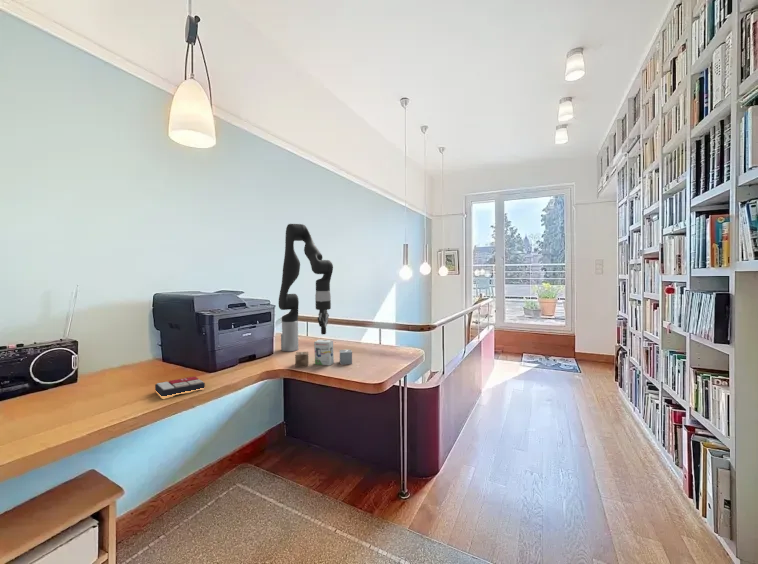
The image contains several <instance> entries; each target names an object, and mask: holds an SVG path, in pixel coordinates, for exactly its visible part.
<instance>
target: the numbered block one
mask: <svg viewBox="0 0 758 564" xmlns="http://www.w3.org/2000/svg"><path fill="white" fill-rule="evenodd" d="M295 352H296V351H295ZM294 358H295V361H294V362H295V368H303V367H304V368H305V367H309V363H310V362H309V351H297V352H296V353H295V357H294Z"/></svg>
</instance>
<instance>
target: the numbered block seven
mask: <svg viewBox="0 0 758 564" xmlns="http://www.w3.org/2000/svg"><path fill="white" fill-rule="evenodd" d="M339 363H340V364H341V365H353V351H352V349H339ZM340 364H339V365H340Z"/></svg>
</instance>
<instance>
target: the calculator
mask: <svg viewBox="0 0 758 564" xmlns="http://www.w3.org/2000/svg"><path fill="white" fill-rule="evenodd" d="M154 386H155V387H154V388H155V389H154V391H155V390H156V391H157V392H158V393H159V394H160V395H161V396H167V395H172V394H176V393H181V392H185V391H191V390H196V389H200V388H204V387H205V386H206V384H205V382H204V381H203V380H201V379H199V378H198V377H197V376H190V377H184V378H179V379H178V378H177V379H172V380H168V381H164V382H157V383H156V384H154Z"/></svg>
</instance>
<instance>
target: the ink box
mask: <svg viewBox="0 0 758 564" xmlns="http://www.w3.org/2000/svg"><path fill="white" fill-rule="evenodd" d="M313 346H314V364H315V365H317V366H331V365H333V364H334V363H335V359H334V340H332V339H331V340H330V339H317V340H315V341H314V342H313Z"/></svg>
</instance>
